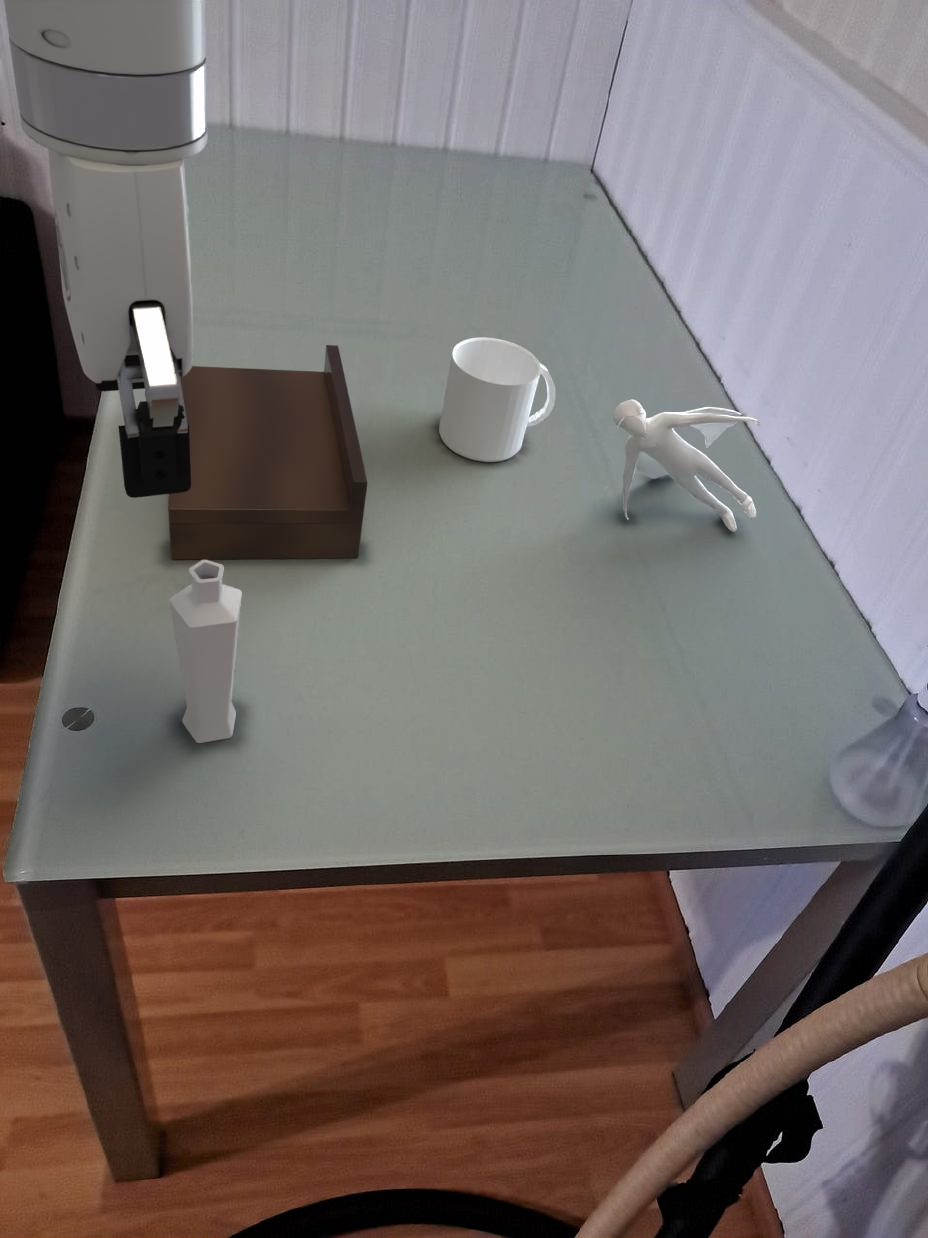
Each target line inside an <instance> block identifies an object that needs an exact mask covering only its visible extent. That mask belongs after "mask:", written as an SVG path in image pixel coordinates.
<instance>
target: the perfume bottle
mask: <svg viewBox="0 0 928 1238" xmlns="http://www.w3.org/2000/svg"><path fill="white" fill-rule="evenodd" d="M224 571H225V566H224V565H223V564H221V563H218V562H215V561H212V560H210V559H201V560H200V561H199V562H197V563H195V564H194V565H192V566H191V567H190V568H188V572H189V574H190V576H191V577H190V578H191V583H190V584H188V585H187V586H186V587H184V588H183V589H181V590H180V591H179V592H177V593H176V594H174V595H173V596H171V597H170V598H169V600H168V601H169V606H170V612H171V618H172V625H173V631H174V637H175V643H176V649H177V656H178V661H179V662H178V663H179V668H180V673H181V679H182V686H183V693H184V697H185V704H186V709H185V712H184V715H183V717H182V720H181V722H182V724H183V725H184V728H186V730H187V731H188V733H189V734H190V735H191V737H192V738H193V740H194V741H195V742H196V743H197V744H204V743H208V742H215V741H221V740H227V739H231V738H232V737H233V735H234V730H235V729H234V728H235V723H236V716H237V711H236V708H235V705H234V704H233V702H232V699H233V689H234V679H235V668H236V658H237V647H238V639H239V638H238V637H239V627H240V626H239V625H240V618H241V617H240V616H241V608H242V607H241V606H242V597H243V591H242V590H241V589H239V588H236V587H233V586H230V585H227V584H224V583H223V576H224Z"/></svg>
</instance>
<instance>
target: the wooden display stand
mask: <svg viewBox="0 0 928 1238" xmlns="http://www.w3.org/2000/svg"><path fill="white" fill-rule="evenodd" d="M324 353H325V356H324V366H323V367H324V369H323V371H313V370H291V369H288V370H287V369H270V368H269V369H268V368H246V367H245V368H244V367H220V366H198V365H192V368H191V370H190V371H189V372H188V373H187V374H186V375H185V376H184V377H180V379H181V385H182V392H183V398H184V404H185V411H186V417H187V422H188V424H189V438H190V465H191V488H190V489H189V490H188V491H186V492H182V493H173V494H168V502H167V503H168V505H167V507H168V523H169V524H168V526H169V527H168V528H169V545H170V546H169V547H170V559H171V560H248V559H249V560H255V559H256V560H265V559H266V560H267V559H268V560H269V559H273V560H274V559H276V560H277V559H278V560H279V559H283V560H284V559H358V558H359V556H360V555H359V554H360V547H361V537H362V532H363V531H362V530H363V522H364V514H365V507H366V498H367V490H368V478H367V473H366V472H367V471H366V469H365V463H364V459H363V454H362V450H361V445H360V442H359V436H358V431H357V427H356V422H355V418H354V412H353V408H352V404H351V399H350V395H349V389H348V385H347V381H346V376H345V372H344V367H343V362H342V361H343V360H342V357H341V352H340V348H339V345H337V344H334V345H333V344H326V345H325V352H324Z"/></svg>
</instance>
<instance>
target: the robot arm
mask: <svg viewBox="0 0 928 1238" xmlns="http://www.w3.org/2000/svg"><path fill="white" fill-rule="evenodd" d="M3 5H4V10H5V17H6V24H7V31H8V43H9V49H10V56H11V63H12V71H13V76H14V83H15V84H14V85H15V91H16V98H17V105H18V110H19V118H20V125H21V129H22V131H23V133H24V134H25V135H26V136H27V137H28V138H29V139H31V140H33V141H34V142H35V143H36V144H37V145H40V146H42V147H43V148H46V149H48V163H49V164H48V165H49V176H50V177H49V178H50V187H51V197H52V205H53V214H54V223H55V231H56V239H57V249H58V258H59V268H60V269H59V270H60V282H61V289H62V290H61V291H62V297H63V302H64V307H65V311H66V314H67V318H68V323H69V326H70V330H71V334H72V338H73V341H74V345H75V349H76V352H77V355H78V359H79V363H80V366H81V369H82V371H83V374H84V375H85V376H86V377H87V378H88V379H89V380H91V381H92V382H94V384H95V386H96V389H97V390H98V391H100V392H114V391H115V392H117V391H118V392H119V393H118V394H119V399H120V405H121V412H122V416H123V423H124V425H118V437H119V446H120V447H119V448H120V456H121V467H122V478H123V487H124V491H125V494H126V496H127V497H129V498H132V499H136V498H145V497H155V496H163V495H169V494H173V493H182V492H186V491H188V490H189V489H190V488H191V465H190V438H189V424H188V422H187V417H186V411H185V404H184V398H183V392H182V385H181V379H180V377H184V376H185V375H186V374H187V373H188V372H189V371H190V370H191V368H192V366H193V362H194V360H193V359H194V308H193V307H194V306H193V305H194V304H193V279H192V259H191V240H190V226H189V214H190V208H189V206H188V196H187V181H186V167H185V159H188V158H192V157H193V156H196V155H197V154H199V153H200V152H202V151H203V150H204V149H205V148H206V146H207V144H208V139H209V132H208V131H209V129H208V127H209V126H208V92H207V91H208V90H207V88H208V87H207V86H208V84H207V83H208V82H207V24H206V23H207V22H206V20H207V19H206V17H207V16H206V0H3ZM134 390H144V398H145V401H144V400H143V401H139V402H138V406H137V405H136V400H135V393H134Z"/></svg>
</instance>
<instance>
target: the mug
mask: <svg viewBox="0 0 928 1238" xmlns="http://www.w3.org/2000/svg"><path fill="white" fill-rule="evenodd" d="M451 353H452V354H451V359H450V365H449V370H448V374H447V381H446V386H445V392H444V397H443V402H442V408H441V414H440V420H439V425H438V433H439V435H440V438H441V440H442V442H443V443H444V445H445V446H446V447H448V449H449V450H451V451H452V452H454V453H455V454H457V455H460V456H461V457H463V458H466V459H468V460H473V461H476V462H484V463H496V462H502V461H505V460H506V461H507V460H509V459H511V458H512V457H514V456H515V455H516V454H517V453H519V451H520V450H521V448H522V447H523V442H524V438H525V435H526V430H527V428H529V427H530V428H532V427H535V426H536V425H538V424H540V423H542V422H543V421H545V420H546V418H548V417H550V415H551V414H552V412H553V408H554V407H555V404H556V386H555V382H554V380H553V378H552V376H551V373H550V371H549V370H548V368H547V367H546V366H545V365H544V364H542V363H540V361H539V359H538V358H537V357H536V356H535V354H533V353H532V352H530V350H528V349H526V348H525V347H523V346H521V345H519V344H517V343H515V342H512V341H508V340H505V339H500V338H496V337H495V338H494V337H483V336H482V337H481V336H480V337H472V338H467V339H464V340H462V341H460V342H459V343H457V344H456V345H455V346H454V347H453V350H452V352H451ZM540 375H541V376H542V377H543V379H544V380H545V385H546V394H547V396H546V400H545V402H544V406H543V407H542V408H541V409H539V410H538V411H536V412H535V413H534V414H532V415H530V414H531V411H532V407H533V403H534V399H535V396H536V392H537V387H538V384H539V380H540Z"/></svg>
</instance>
